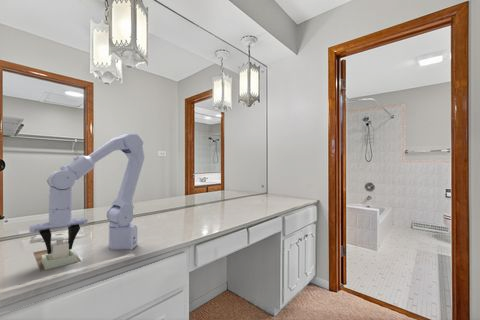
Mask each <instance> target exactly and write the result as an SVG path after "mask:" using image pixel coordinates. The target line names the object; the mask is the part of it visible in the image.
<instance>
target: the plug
mask: <svg viewBox="0 0 480 320" xmlns="http://www.w3.org/2000/svg"><path fill="white" fill-rule="evenodd" d="M68 255H69V243H68V240H62V239H60V240H56V241H54V242H53V241H52V242H51V261H52V260H56V259H61V258H65V257H68Z"/></svg>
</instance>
